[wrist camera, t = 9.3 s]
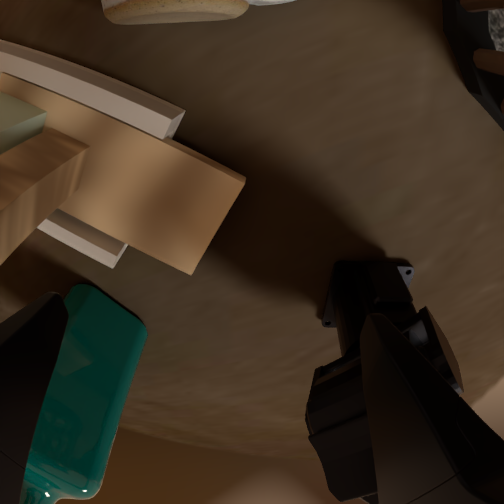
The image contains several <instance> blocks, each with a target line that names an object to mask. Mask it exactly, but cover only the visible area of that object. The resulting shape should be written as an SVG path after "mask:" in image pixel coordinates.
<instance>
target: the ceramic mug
mask: <svg viewBox="0 0 504 504" xmlns="http://www.w3.org/2000/svg"><path fill="white" fill-rule="evenodd" d="M291 1H295V0H101V2H102V7H103V12H104V15H105V17H106V18H107V19H108V20H109V21H111V22H112V23H115V24H122V25H134V24H155V23H178V22H196V21H216V20H228V19H233V18H236V17H239V16H240V15H242V14H243V13H244V12H245V11H246V10H247V9H248V7H249V4H253V5H273V4H281V3H287V2H291Z"/></svg>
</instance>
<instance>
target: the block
mask: <svg viewBox="0 0 504 504" xmlns="http://www.w3.org/2000/svg"><path fill="white" fill-rule="evenodd" d="M46 115H47V111H45V110H42V109H40V108H38V107H36V106H33V105H31V104H29V103H26V102H24V101H22V100H19V99H17V98H15V97H12V96H10V95H8V94H5V93H3V92H1V91H0V155H1V154H3V153H4V152H6V151H8V150H10V149H11V148H13V147H15V146H17V145H19V144H21V143H23V142H24V141H26V140H28V139H30V138H32V137H34V136H36V135H38V134H40V133H42V131H43V127H44V123H45V119H46Z"/></svg>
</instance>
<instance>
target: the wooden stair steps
mask: <svg viewBox="0 0 504 504" xmlns="http://www.w3.org/2000/svg"><path fill="white" fill-rule="evenodd" d="M0 91H1V92H3V93H5V94H8V95H10V96H12V97H15V98H17V99H19V100H22V101H24V102H26V103H29V104H31V105H33V106H36V107H38V108H40V109H42V110H45V111H47V115H46V119H45V123H44V127H43V131H42V133H40V134H38V135H36V136H34V137H32V138H30V139H28V140H26V141H24V142H23V143H21V144H19V145H17V146H15V147H13V148H11V149H10V150H8V151H6V152H4V153H3V154H1V155H0V265H1V264H2V263H3V262H4V261H5V260H6V259H7V258H8V257H9V255H10V254H11V253H12V252H13V251H14V250H15V249H16V248H17V247H18V246H19V245H20V244H21V243H22V242H23V241H24V240H25V239H26V238H27V237H28V236H29V235H30V234H31V233H32V232H33V231H34V230H35V229H36V228H37V227H38V226H39V225H40V224H41V223H42V222H43V221H44V220H45V219H46V218H47V217H48V216H49V215H50V214H51V213H52V212H53V211H55V210H56V209H57V208H59V209H60V210H62V211H64V212H66V213H68V214H70V215H72V216H74V217H75V218H77V219H79V220H81V221H83V222H85V223H87V224H89V225H91V226H93V227H95V228H96V229H98V230H100V231H102V232H104V233H106V234H108V235H110V236H112V237H114V238H116V239H118V240H120V241H122V242H124V243H126V244H128V245H130V246H132V247H134V248H136V249H138V250H140V251H142V252H144V253H146V254H148V255H150V256H152V257H154V258H156V259H158V260H160V261H162V262H164V263H166V264H169V265H171V266H173V267H175V268H177V269H179V270H181V271H183V272H185V273H187V274H189V275H192V273H193V271H194V270H195V268H196V266H197V264H198V263H199V261H200V259H201V257H202V256H203V254H204V252H205V250H206V249H207V247H208V245H209V244H210V242H211V240H212V238H213V237H214V235H215V233H216V232H217V230H218V228H219V226H220V225H221V223H222V221H223V220H224V218H225V216H226V215H227V213H228V211H229V210H230V208H231V206H232V205H233V203H234V201H235V200H236V198H237V196H238V195H239V193H240V191H241V190H242V188H243V186H244V185H245V181H246V177H244V176H242V175H241V174H239V173H237V172H235V171H233V170H231V169H229V168H227V167H225V166H223V165H221V164H220V163H218V162H216V161H214V160H212V159H210V158H208V157H206V156H204V155H202V154H200V153H198V152H196V151H194V150H192V149H190V148H188V147H186V146H184V145H182V144H180V143H178V142H176V141H174V140H172V139H170V138H168V137H165V138H164V139H163V140H162V139H160V138H158V137H156V136H154V135H152V134H150V133H148V132H145V131H143V130H141V129H139V128H137V127H135V126H133V125H130V124H128V123H126V122H124V121H122V120H120V119H117V118H115V117H113V116H111V115H108V114H106V113H104V112H102V111H99V110H97V109H95V108H93V107H90V106H88V105H86V104H83V103H81V102H79V101H76V100H74V99H72V98H69V97H67V96H65V95H62V94H60V93H57V92H55V91H52V90H50V89H47V88H45V87H42V86H40V85H37V84H35V83H32V82H30V81H27V80H25V79H22V78H19V77H17V76H14V75H12V74H9V73H6V72H3V73H2V74H1V78H0Z"/></svg>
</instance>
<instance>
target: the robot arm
mask: <svg viewBox="0 0 504 504" xmlns="http://www.w3.org/2000/svg"><path fill="white" fill-rule="evenodd" d="M339 267H343V268H342V269H338V268H339ZM407 270H409V271H408V272H406V271H407ZM413 274H414V268H413V266H412V265H411V264H401V263H393V262H371V261H365V262H356V261H338V262H336V263H335V264H334V266H333V271H332V276H331V280H330V285H329V290H328V294H327V299H326V303H325V307H324V312H323V316H322V325H323V326H324V327H336V328H337V332H338V338H339V343H340V349H341V355H342V357H341V358H339V359H337V360H335V361H333V362H331V363H329V364H327V365H325V366H320V367H318V368H316V369H315V372H314V377H313V381H312V386H311V390H310V394H309V399H308V402H307V405H306V414H305V416H306V417H305V421H306V424H307V428H308V431H309V434H310V435H309V436H308V438H309V441H310V442H311V444H312V446H313V447H314V449H315V450H316V452H317V454H318V456H319V458H320V461H321V463H322V466H323V469H324V472H325V476H326V480H327V484H328V488H329V490H330V492H331V493H332V494H333V495H334V496H335V497H336V498H337V499H338V500H339V501H340V502H345V501H348V500H353V499H356V498H360V499H361V500H363V501H364V502H366V503H367V504H504V440H503V439H502V438H501V437H500V436H499V435H498V434H496V433H495V432H494V431H493V430H492V429H491V428H490V427H489V426H488V425H487V424H486V423H485V422H484V421H483V420H482V419H481V418H480V417H479V416H478V415H477V414H476V413H475V412H474V411H473V409H472V408H471V407H470V406H469V405H468V404H467V403H466V402H465V401H464V400H463V398H462V397H459V395H460V394H462V393H463V392H464V389H463V384H462V379H461V374H460V370H459V365H458V362H457V360H456V358H455V356H454V353H453V351H452V349H451V347H450V345H449V342H448V340H447V338H446V337H445V335H444V333H443V332H442V330H441V329H440V327H439V325H438V324H437V322H436V321H435V319H434V318H433V316H432V314H431V313H430V311H429V310H428V308H427V307H426V306H425V307H424V308H422V309H420V310H419V312H418V313H417V312H416V310H415V307H414V305H413V303H412V301H413V298H412V296H411V294H410V292H409V290H408V288H409V285H410V282H411V280H412V277H413ZM68 319H69V314H68V310H67V308H66V306H65V303H64V301H63V299H62V296H61V295H60V294H59V293H56V292H47V293H45V294H44V295H42V296H41V297H39V298H37V299H36V300H34V301H33V302H31V303H30V304H28V305H27V306H25V307H24V308H22V309H21V310H19V311H18V312H16V313H15V314H13V315H12V316H11V317H9V318H8V319H6V320H5V321H3V322H2V323H0V504H19V503H20V497H21V491H22V485H23V480H24V475H25V470H26V469H25V468H26V465H27V461H28V456H29V452H30V448H31V444H32V440H33V436H34V432H35V429H36V425H37V421H38V418H39V414H40V411H41V408H42V404H43V401H44V398H45V395H46V392H47V389H48V386H49V383H50V380H51V377H52V374H53V371H54V368H55V365H56V362H57V359H58V355H59V352H60V348H61V344H62V340H63V337H64V333H65V330H66V326H67V323H68ZM327 321H329V322H327Z"/></svg>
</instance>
